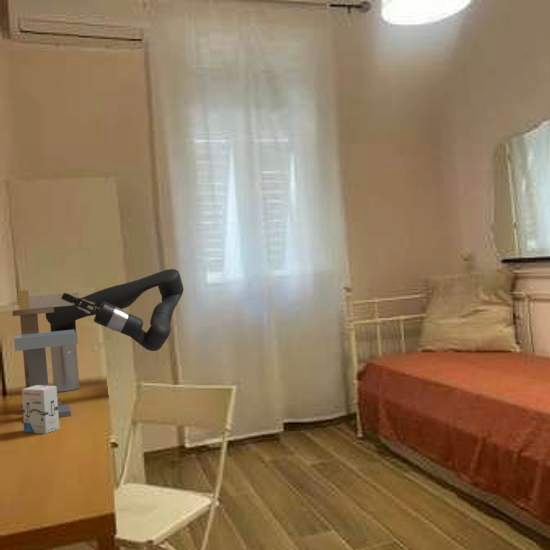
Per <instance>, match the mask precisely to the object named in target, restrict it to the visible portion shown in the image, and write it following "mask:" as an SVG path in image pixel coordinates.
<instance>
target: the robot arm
mask: <svg viewBox="0 0 550 550" xmlns="http://www.w3.org/2000/svg"><path fill="white" fill-rule="evenodd" d="M156 287H157V288H158V291H159V293H160V296H161V302H160V303H158V304H156V305H155V307H154V309H153V310H152V314H151V317H150V323H149V324H150V325H149V326H150V327H149V328H148V330H147V331H145V330H144V329H143V325H144V321H143V319H142V318H140V317H138V316H136V315H134V314H131V313H129V312H127V311H126V310H124V309H126V308H128V307H130V306H132V304H133V303H134V302H136V301H137V299H138V298H139V297H140V296H141V295H142V294H143V293H145V292H146V291H148V290H150V289H153V288H156ZM67 293H68V292H64V293H62V294H63V296H62V299H63V300H65V301H68V302H70V303H73V305H70V306H60V307H54V312H52V313H45V319H46V321H47V322H48V323H49V325H50V332H55V331H64V330H75V332H77V325H76V321H77V320H80V319H84V318H86V317H90V316H94V318H93V323H95V324H98V325H100V326H101V327H102V326H103V327H105V328H106V329H109V330H112V331H115V332H118V333H120V334H123V335H125V336H128V337H130V338H131V339H133V340H134V342H137V344H138V345H140V346H141V347H142V348H144V349H145V350H147V351H151V352H157V351H160V349H161V348H162V347H163V345H164V343H166V342H167V339H168V338H169V336H170V334H171V321H172V318H173V314H174V311H175V308H176V307H177V305H178V303H179V301H180V300H181V297H183V296H182V295H183V293H184V285H183V282H182V277H181V275H180V272H179V270H177V269H176V268H175V269H174V268H170V269H165V270H161V271H159V272H155V273H153V274H151V275H147V276H145V277H142V278H139V279H136V280H133V281H128V282H126V283H121V284H117V285H114V286H110V287H106V288H103V289H99V290H97V291H95V292H92V293H90V294H87V295H85V296H83V297H79V298H78V297H76V298H75V297H73V296H71V295H69V294H67ZM79 304H80V305H79ZM49 348H50V359H51V360H50V361H51V371H52V372H51V374H52V384H53V385H52V386H56V387H57V393H58V392H60V393H61V392H68V391H74V390H77V389H80V374H79V364H78V363H79V362H78V352H77V351H78V350H77V344H72V345H63V346H55V347H49Z"/></svg>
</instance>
